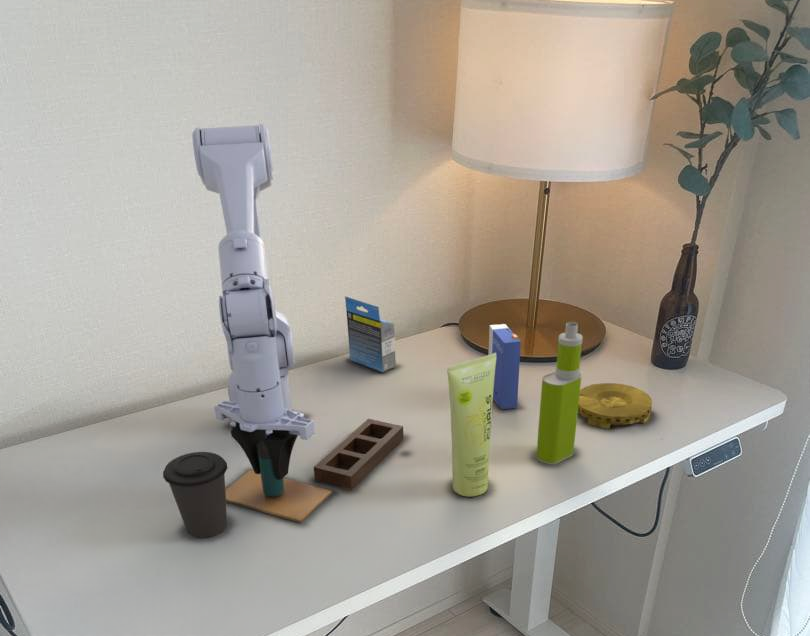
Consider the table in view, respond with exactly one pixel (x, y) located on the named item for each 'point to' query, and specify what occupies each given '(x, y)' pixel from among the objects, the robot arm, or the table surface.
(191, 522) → the coffee cup
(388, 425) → the pen stand
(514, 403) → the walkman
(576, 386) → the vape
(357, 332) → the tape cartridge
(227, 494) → the cork mat
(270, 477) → the teal capped bottle
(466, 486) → the tube
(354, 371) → the table surface
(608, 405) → the yellow flat disc
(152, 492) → the table surface
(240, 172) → the robot arm
